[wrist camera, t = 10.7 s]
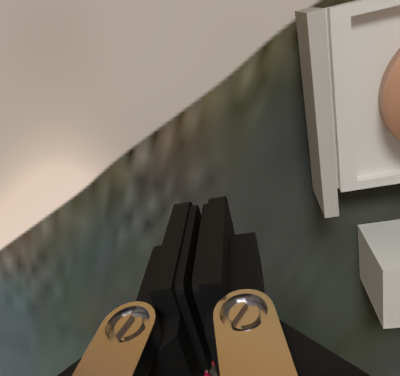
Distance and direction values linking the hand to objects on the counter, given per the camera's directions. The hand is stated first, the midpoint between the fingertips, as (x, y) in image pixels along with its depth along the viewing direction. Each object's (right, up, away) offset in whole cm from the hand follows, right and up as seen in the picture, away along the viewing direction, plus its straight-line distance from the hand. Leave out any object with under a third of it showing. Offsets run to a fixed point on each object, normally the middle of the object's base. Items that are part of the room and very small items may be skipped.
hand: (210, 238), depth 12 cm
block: (+14, -3, +15) cm, 21 cm away
